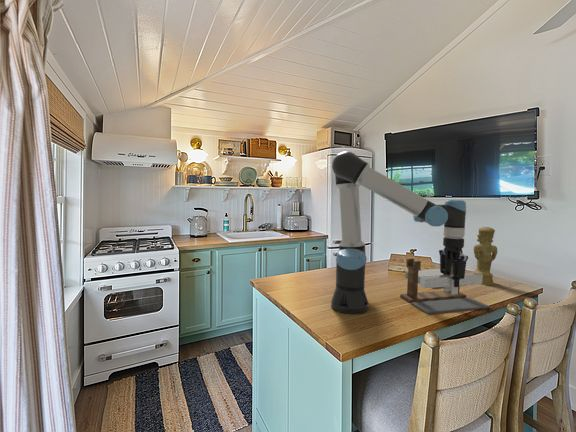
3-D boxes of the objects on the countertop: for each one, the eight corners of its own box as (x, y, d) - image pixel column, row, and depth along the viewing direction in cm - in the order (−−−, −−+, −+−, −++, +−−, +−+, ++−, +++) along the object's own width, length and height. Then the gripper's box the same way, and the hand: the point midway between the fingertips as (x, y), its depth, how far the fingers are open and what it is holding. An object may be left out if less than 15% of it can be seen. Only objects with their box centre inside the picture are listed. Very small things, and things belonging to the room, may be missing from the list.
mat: (427, 314, 114) (427, 312, 114) (411, 304, 124) (411, 302, 124) (489, 308, 121) (489, 306, 121) (469, 299, 131) (469, 297, 131)
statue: (490, 280, 159) (494, 226, 157) (498, 285, 150) (502, 228, 148) (467, 278, 162) (471, 225, 160) (474, 283, 153) (477, 227, 150)
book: (465, 276, 155) (430, 280, 147) (465, 283, 155) (429, 288, 147) (437, 267, 172) (404, 271, 164) (437, 274, 172) (404, 277, 164)
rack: (409, 303, 126) (411, 262, 124) (400, 297, 132) (401, 258, 131) (466, 298, 132) (468, 259, 130) (454, 292, 139) (456, 255, 137)
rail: (424, 288, 117) (425, 278, 117) (419, 285, 120) (420, 276, 120) (482, 283, 123) (482, 274, 123) (476, 281, 126) (476, 272, 126)
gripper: (477, 240, 113) (474, 298, 115) (446, 234, 129) (444, 285, 131) (461, 240, 111) (458, 300, 113) (432, 234, 127) (429, 287, 129)
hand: (450, 292), depth 122 cm, fingers closed on rail, 3 cm apart
